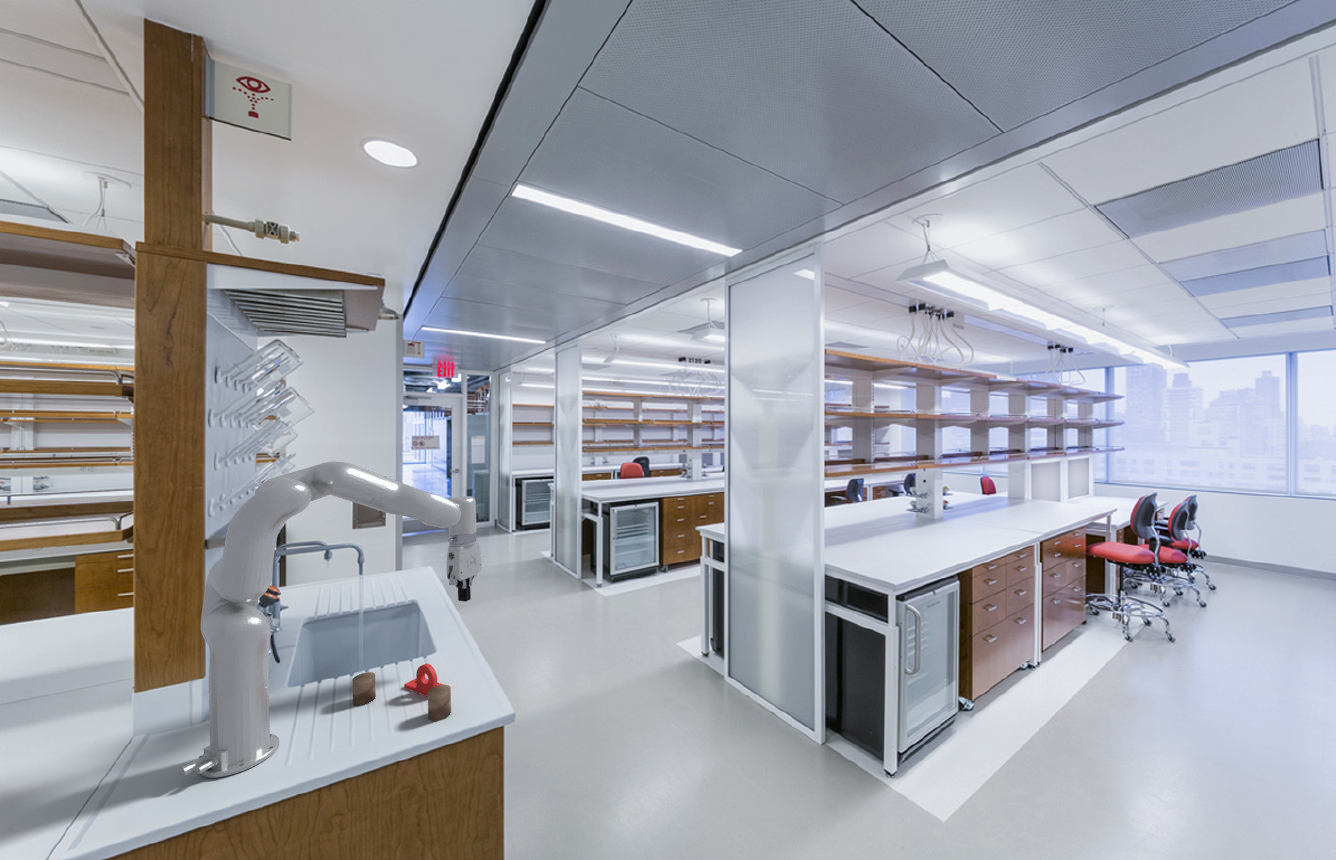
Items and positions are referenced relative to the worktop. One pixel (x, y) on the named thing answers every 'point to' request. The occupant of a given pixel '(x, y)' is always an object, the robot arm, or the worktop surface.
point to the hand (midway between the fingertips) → (464, 600)
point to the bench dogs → (436, 696)
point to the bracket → (423, 680)
